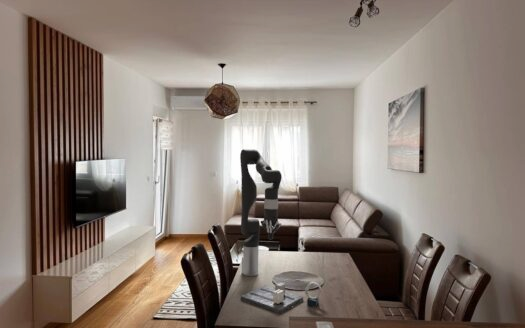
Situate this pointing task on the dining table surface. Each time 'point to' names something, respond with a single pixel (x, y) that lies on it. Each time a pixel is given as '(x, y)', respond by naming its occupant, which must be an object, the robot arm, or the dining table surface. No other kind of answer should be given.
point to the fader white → (278, 296)
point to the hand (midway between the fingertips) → (270, 239)
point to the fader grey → (280, 287)
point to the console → (271, 299)
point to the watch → (312, 300)
